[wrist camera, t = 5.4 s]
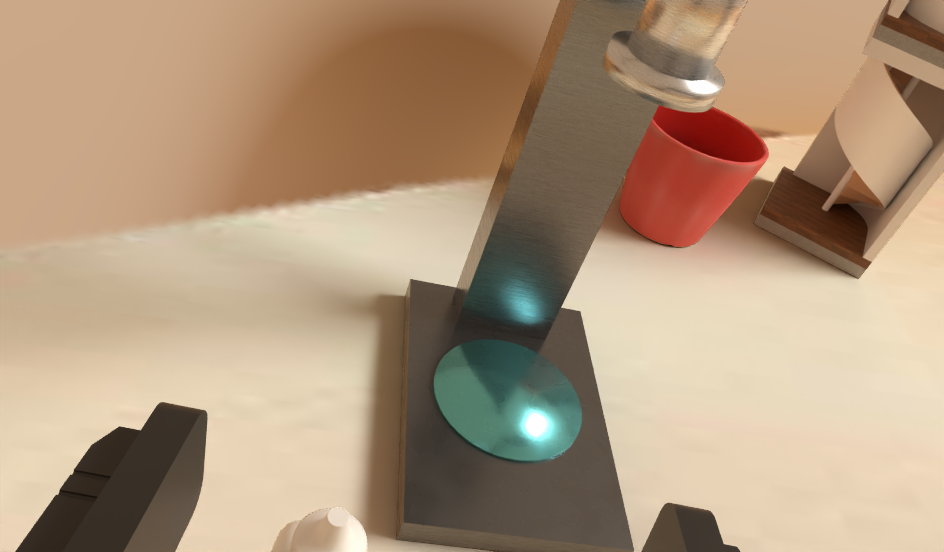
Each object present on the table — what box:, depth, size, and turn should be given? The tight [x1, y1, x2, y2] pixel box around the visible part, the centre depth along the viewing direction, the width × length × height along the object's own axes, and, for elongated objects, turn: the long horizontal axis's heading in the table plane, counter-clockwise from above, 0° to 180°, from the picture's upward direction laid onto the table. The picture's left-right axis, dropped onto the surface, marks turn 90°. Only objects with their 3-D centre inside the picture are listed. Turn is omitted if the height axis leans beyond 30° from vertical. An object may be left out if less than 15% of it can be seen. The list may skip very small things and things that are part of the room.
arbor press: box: [397, 0, 748, 552], centre depth 34 cm, size 18×25×32 cm
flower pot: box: [619, 105, 769, 247], centre depth 65 cm, size 11×11×10 cm
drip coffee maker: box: [753, 0, 944, 279], centre depth 66 cm, size 11×11×35 cm
